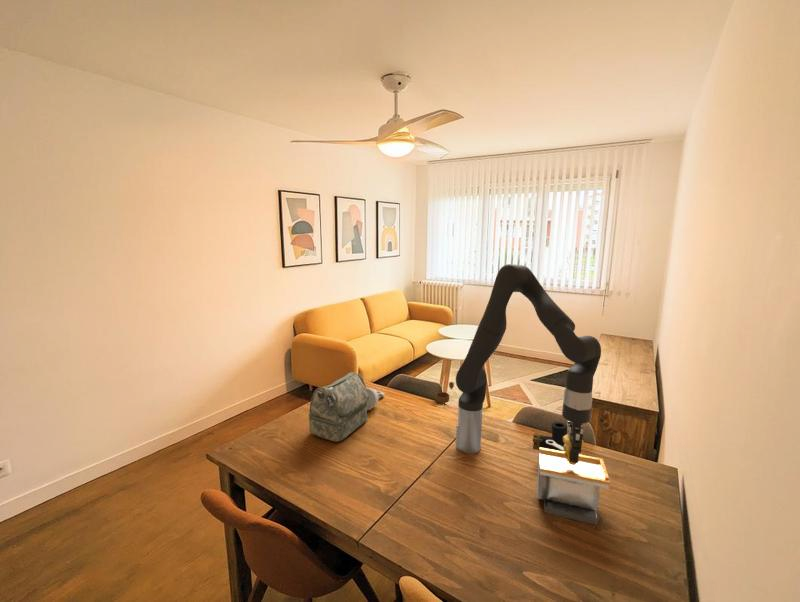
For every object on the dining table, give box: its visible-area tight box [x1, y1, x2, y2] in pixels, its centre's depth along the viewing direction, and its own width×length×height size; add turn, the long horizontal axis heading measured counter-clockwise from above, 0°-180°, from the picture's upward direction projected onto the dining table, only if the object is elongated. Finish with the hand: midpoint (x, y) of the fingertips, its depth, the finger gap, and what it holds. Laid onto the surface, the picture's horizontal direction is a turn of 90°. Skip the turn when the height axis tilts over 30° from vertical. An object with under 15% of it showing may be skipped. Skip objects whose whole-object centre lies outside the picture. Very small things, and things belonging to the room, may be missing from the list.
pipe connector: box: [532, 421, 568, 452], centre depth 133 cm, size 12×5×15 cm, turn 65°
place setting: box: [434, 381, 455, 404], centre depth 186 cm, size 18×20×6 cm
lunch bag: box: [308, 371, 369, 443], centre depth 157 cm, size 26×18×22 cm
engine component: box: [366, 387, 386, 411], centre depth 182 cm, size 11×20×10 cm, turn 171°
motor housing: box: [536, 447, 611, 526], centre depth 111 cm, size 18×12×14 cm, turn 70°
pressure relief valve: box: [546, 433, 584, 465], centre depth 112 cm, size 6×12×10 cm, turn 27°
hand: (572, 455), depth 110 cm, fingers closed on pressure relief valve, 6 cm apart
